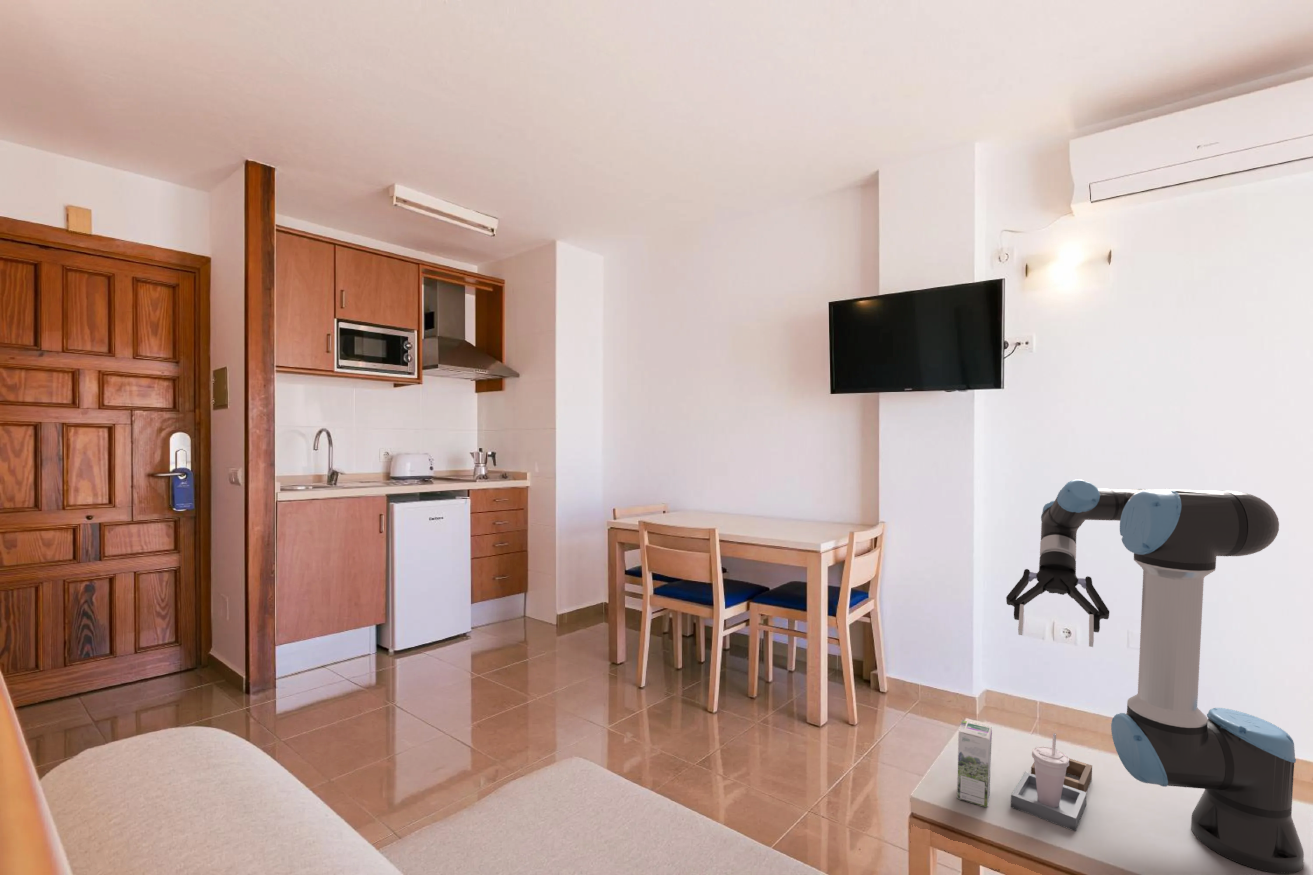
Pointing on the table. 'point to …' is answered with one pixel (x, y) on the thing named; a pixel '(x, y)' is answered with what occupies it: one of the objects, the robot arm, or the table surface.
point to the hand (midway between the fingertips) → (1054, 637)
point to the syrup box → (974, 763)
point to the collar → (1077, 770)
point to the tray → (1061, 815)
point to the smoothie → (1050, 773)
